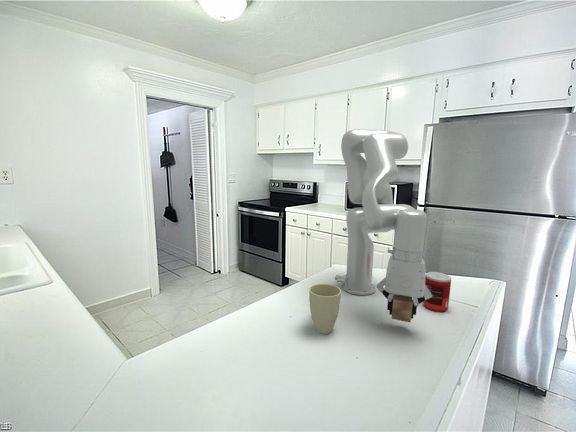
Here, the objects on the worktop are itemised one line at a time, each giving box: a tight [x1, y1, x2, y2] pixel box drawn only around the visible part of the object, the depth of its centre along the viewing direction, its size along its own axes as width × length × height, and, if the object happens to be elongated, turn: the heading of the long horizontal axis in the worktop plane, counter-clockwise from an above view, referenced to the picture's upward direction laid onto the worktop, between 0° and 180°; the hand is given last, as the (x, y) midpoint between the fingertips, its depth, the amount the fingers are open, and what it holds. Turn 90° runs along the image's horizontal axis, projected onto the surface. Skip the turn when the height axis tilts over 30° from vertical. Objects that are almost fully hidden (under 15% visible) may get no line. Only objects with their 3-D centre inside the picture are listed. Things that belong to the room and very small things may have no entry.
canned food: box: [422, 271, 452, 313], centre depth 97 cm, size 8×8×11 cm
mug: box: [308, 283, 342, 335], centre depth 84 cm, size 11×10×12 cm
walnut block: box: [390, 294, 413, 323], centre depth 83 cm, size 5×5×6 cm
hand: (400, 313), depth 84 cm, fingers closed on walnut block, 4 cm apart
